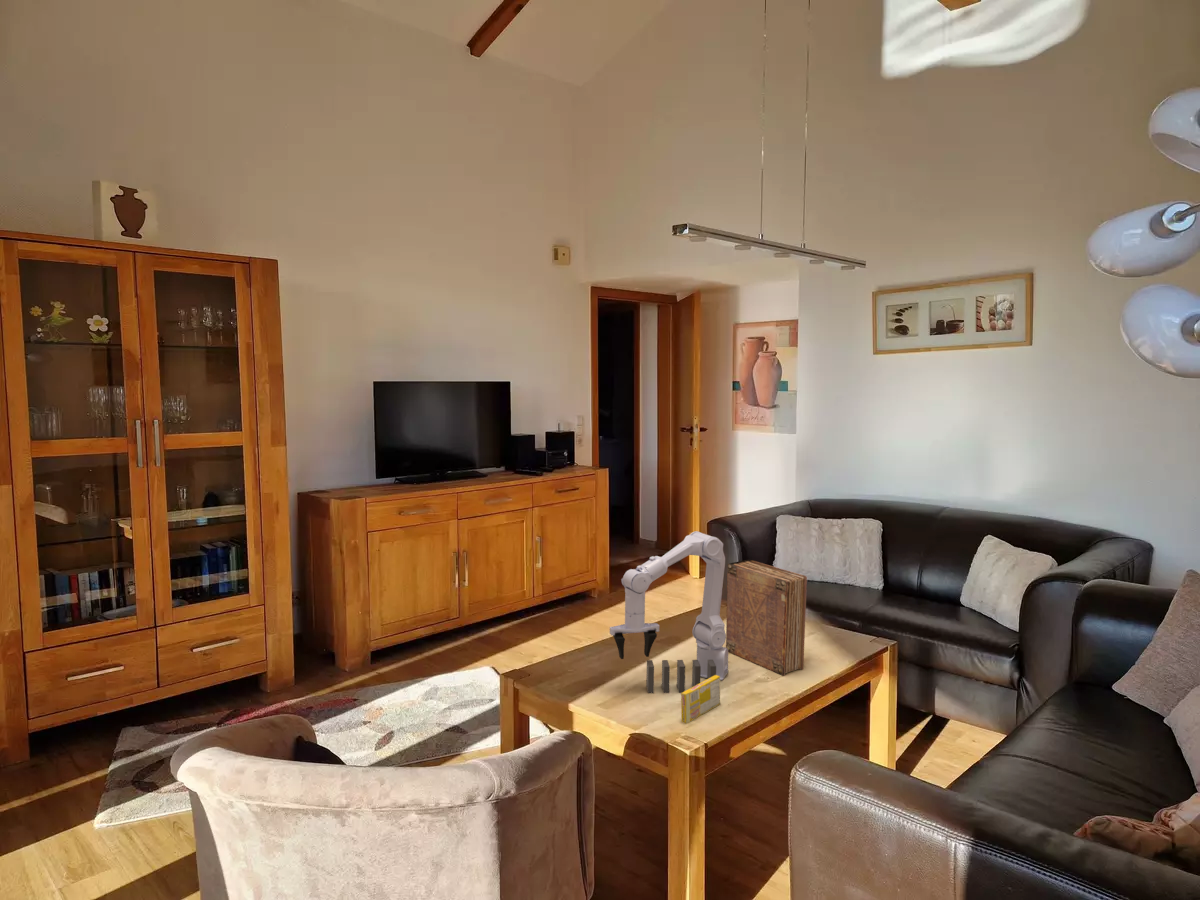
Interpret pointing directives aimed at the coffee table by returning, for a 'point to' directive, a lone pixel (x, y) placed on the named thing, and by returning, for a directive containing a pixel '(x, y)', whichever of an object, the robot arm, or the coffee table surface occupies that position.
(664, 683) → the domino
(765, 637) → the book
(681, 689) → the domino
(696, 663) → the domino
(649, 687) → the domino
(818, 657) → the coffee table surface
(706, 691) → the candy box
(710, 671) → the domino
